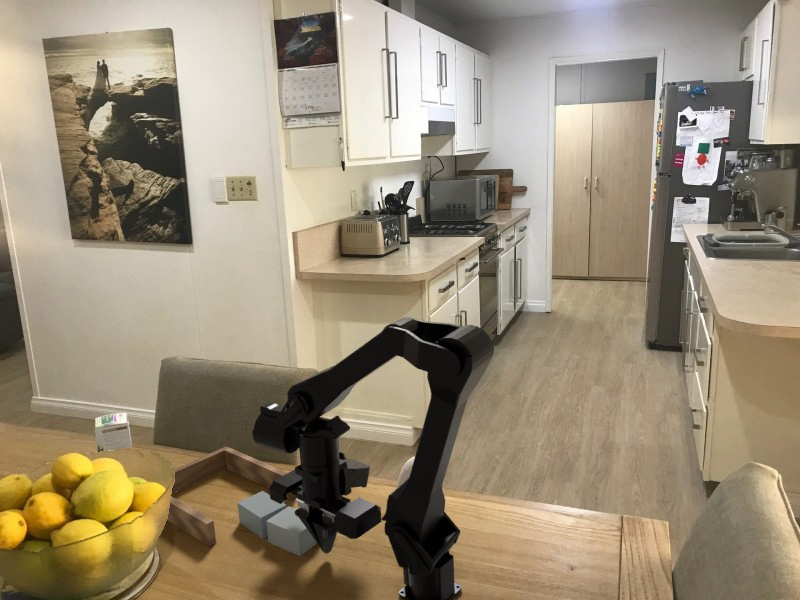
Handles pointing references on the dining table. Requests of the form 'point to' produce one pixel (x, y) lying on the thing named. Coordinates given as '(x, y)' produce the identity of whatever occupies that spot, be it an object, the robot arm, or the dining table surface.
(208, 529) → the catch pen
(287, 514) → the light grey block
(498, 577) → the dining table surface
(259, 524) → the pale grey block
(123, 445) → the syrup box
